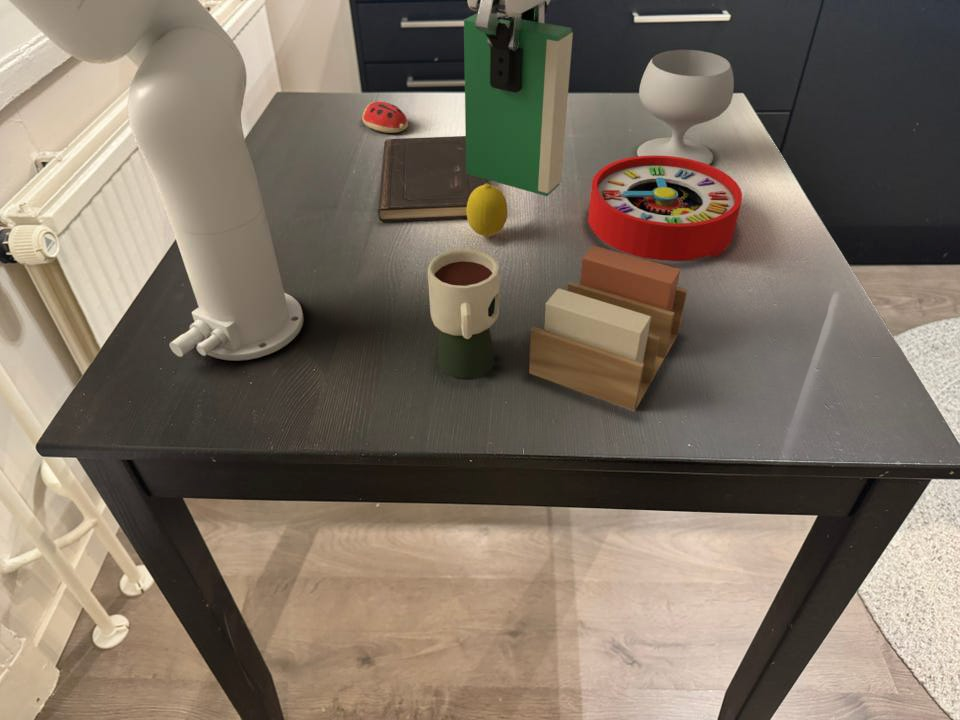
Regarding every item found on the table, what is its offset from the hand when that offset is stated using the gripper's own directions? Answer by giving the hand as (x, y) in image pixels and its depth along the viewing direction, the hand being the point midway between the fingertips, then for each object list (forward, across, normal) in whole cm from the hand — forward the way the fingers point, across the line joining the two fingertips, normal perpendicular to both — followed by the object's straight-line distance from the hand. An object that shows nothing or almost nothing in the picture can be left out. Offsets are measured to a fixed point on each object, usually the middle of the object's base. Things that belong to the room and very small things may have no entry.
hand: (514, 81), depth 72 cm
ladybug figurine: (+27, -35, -44) cm, 62 cm away
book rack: (+27, +4, +15) cm, 31 cm away
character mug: (+27, +13, +2) cm, 30 cm away
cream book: (+26, +9, +15) cm, 31 cm away
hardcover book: (+27, -21, -25) cm, 42 cm away
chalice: (+27, -48, +5) cm, 55 cm away
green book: (+11, 0, 0) cm, 11 cm away
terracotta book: (+26, -1, +15) cm, 30 cm away
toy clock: (+27, -26, +10) cm, 39 cm away
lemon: (+27, -12, -10) cm, 31 cm away
